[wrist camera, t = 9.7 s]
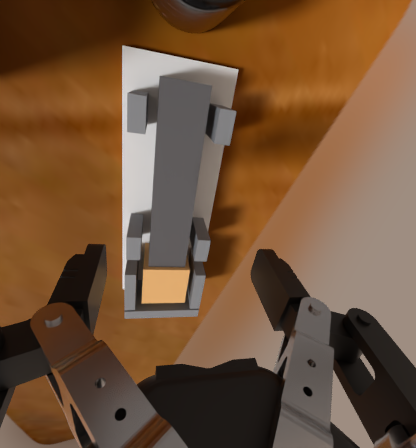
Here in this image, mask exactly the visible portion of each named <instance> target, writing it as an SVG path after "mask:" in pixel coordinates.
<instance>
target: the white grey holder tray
mask: <svg viewBox="0 0 416 448" xmlns="http://www.w3.org/2000/svg"><path fill="white" fill-rule="evenodd" d="M238 70H239V69H234V68H229V67H224V66H220V65H215V64H210V63H205V62H200V61H196V60H191V59H186V58H181V57H176V56H172V55H167V54H162V53H157V52H152V51H148V50H143V49H138V48H133V47H128V46H123V45H122V177H123V289H125V319H128V318H160V317H192V316H198V311H199V306H200V301H201V297H202V292H203V287H204V282H205V277H206V274H205V270H204V266H203V262H202V261H206V262H207V257H208V252H209V247H210V242H211V240H210V237H209V234H208V229H209V224H210V219H211V213H212V208H213V203H214V197H215V192H216V187H217V181H218V176H219V171H220V166H221V160H222V155H223V150H224V145H228V146H230V142H231V137H232V132H233V127H234V122H235V117H236V112H237V111H235V110H232V109H231V107H232V102H233V97H234V91H235V86H236V81H237V75H238ZM159 76H164V77H169V78H175V79H180V80H185V81H191V82H196V83H201V84H207V85H212V91H211V97H210V104H209V111H208V117H207V124H206V131H205V137H204V144H203V151H202V157H201V164H200V171H199V177H198V184H197V191H196V197H195V204H194V211H193V217H192V224H191V231H190V237H189V244H188V251H187V256H188V262H189V268H190V273H189V279H188V285H187V291H186V298H185V303H142V284H143V265H144V252H145V243H149V241H150V225H151V208H152V192H153V175H154V158H155V142H156V125H157V109H158V92H159Z"/></svg>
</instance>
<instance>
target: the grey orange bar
mask: <svg viewBox="0 0 416 448" xmlns="http://www.w3.org/2000/svg"><path fill="white" fill-rule="evenodd" d="M211 91H212V85H207V84H201V83H196V82H191V81H185V80H180V79H175V78H169V77H164V76H159V92H158V109H157V125H156V142H155V158H154V175H153V192H152V208H151V225H150V241H149V243H145V252H144V265H143V284H142V303H185V298H186V291H187V285H188V279H189V273H190V268H189V262H188V256H187V251H188V244H189V237H190V231H191V224H192V217H193V211H194V204H195V197H196V191H197V184H198V177H199V171H200V164H201V157H202V151H203V144H204V137H205V131H206V124H207V117H208V111H209V104H210V97H211Z"/></svg>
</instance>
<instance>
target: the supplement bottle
mask: <svg viewBox="0 0 416 448" xmlns="http://www.w3.org/2000/svg"><path fill="white" fill-rule="evenodd" d="M151 1H152V3H153V5H154V6H155V8H156V10H157V11H158V12H159V14H160V15H161V16H162V17H163V18H164V19H165V20H166V21H167V22H168V23H169V24H170V25H172V26H173V27H175V28H177V29H179V30H181V31H184V32H188V33H201V32H205V31H208V30H211V29H212V28H214V27H216V26H217V25H219V24H220V23H221V22H222V21H223V20H225V19H226V18H227V17H228V16H229V15H230V14H231V13H232V12H233V11H234V10H236V9H237V8H238V7H239V6H240V5H241V4H242V3H243V2H244V1H245V0H151Z"/></svg>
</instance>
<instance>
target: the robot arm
mask: <svg viewBox="0 0 416 448" xmlns="http://www.w3.org/2000/svg"><path fill="white" fill-rule="evenodd" d="M106 276H107V261H106V246H105V244H88V246H87V248H86V251H85V254H75V255H74V256H73V257H72V258H71V259H69V260H68V261H67V263H66V265H65V267H64V270H63V272H62V274H61V276H60V278H59V280H58V283H57V285H56V287H55V289H54V291H53V293H52V296H51V298H50V300H49V302H48V304H47V305H46V306H44V307H42V308H41V309H39V310H38V311H37V312H36V313H35V314H34V315H33V317H32V318H31V319H29V320H26V321H23V322H20V323H16V324H13V325H9V326H5V327H0V427H1V424H2V422H3V419H4V416H5V414H6V411H7V408H8V406H9V403H10V401H11V398H12V395H13V393H14V390H15V387H16V386H17V385H20V384H22V383H25V382H28V381H31V380H33V379H36V378H39V377H41V376H44V375H45V376H46V378H47V380H48V382H49V384H50V385H51V387H52V389H53V391H54V393H55V395H56V397H57V399H58V401H59V403H60V405H61V407H62V409H63V411H64V413H65V416H66V418H67V421H68V423H69V426H70V428H71V430H72V433H73V435H74V437H75V439H76V441H77V443H78V444H79V447H80V448H360V447H358V446H357V445H356V444H355V443H354V442H353V441H352V440H351V439H350V438H348V437H347V436H346V435H345V434H344V433H343V432H342V431H340V429H338V428H337V427H336V426H335V425H334V424H333V423H332V422H331V421H330V418H331V400H332V380H333V370H334V371H335V373H336V375H337V377H338V379H339V381H340V382H341V384H342V386H343V388H344V390H345V392H346V394H347V396H348V398H349V399H350V401H351V403H352V405H353V407H354V409H355V410H356V412H357V414H358V416H359V418H360V420H361V422H362V424H363V426H364V427H365V429H366V431H367V433H368V435H369V437H370V439H371V440H372V442H373V444H374V448H416V368H415V367H414V365H413V364H412V363H411V362H410V360H409V359H408V358H407V357H406V356H405V354H404V353H403V352H402V351H401V349H400V348H399V347H398V346H397V345H396V343H395V342H394V341H393V340H392V338H391V337H390V336H389V335H388V334H387V332H386V331H385V330H384V329H383V328H382V327H381V325H380V324H379V323H378V321H377V320H376V319H375V318H374V317H373V316H371V315H370V314H369V313H367V312H366V311H363V310H361V309H357V308H352V309H350V310H349V311H348V312H347V314H346V315H344V314H340V313H336V312H332V311H330V310H329V308H328V307H327V306H326V305H325V304H324V303H323V302H321V301H320V300H318V299H316V298H312V297H310V295H309V294H308V292H307V291H306V290H305V288H304V287H303V285H302V284H301V282H300V281H299V279H297V276H296V275H295V273H293V270H292V269H291V267H290V266H289V265H288V264H287V263H286V262H285V261H283V260H282V259H279V258H278V256H277V255H276V253H275V252H274V251H273V250H271V249H259V250H258V251H257V254H256V257H255V260H254V263H253V266H252V270H251V280H252V283H253V285H254V287H255V289H256V292H257V294H258V296H259V298H260V300H261V303H262V305H263V307H264V309H265V311H266V314H267V316H268V318H269V320H270V322H271V325H272V327H273V329H274V331H284V333H285V335H284V337H283V339H282V343H281V347H280V350H279V354H278V357H277V361H276V364H275V368H274V371H273V372H272V371H270V370H268V369H265V368H262V367H259V366H258V365H257V362H256V359H255V358H249V359H237V360H231V361H228V362H226V363H223V364H221V365H218V366H215V367H213V368H202V367H196V366H190V365H185V364H176V365H164V366H156V373H155V375H153V376H150V377H148V378H146V379H144V380H143V381H141V382H140V383H138V384H137V385H136V383H135V382H134V381H133V379H132V378H131V377H130V375H129V374H128V373H127V371H126V370H125V369H124V367H123V366H122V365H121V363H120V362H119V360H118V359H117V358H116V356H115V355H114V354H113V352H112V351H111V350H110V348H109V347H108V346H107V344H106V343H105V342H104V341H102V340H100V341H97V340H96V339H95V337H94V336H93V333H94V329H95V325H96V320H97V316H98V312H99V308H100V304H101V299H102V295H103V291H104V287H105V282H106ZM362 353H363V354H364V356H365V357H366V359H367V360H368V362H369V363H370V365H371V366H372V368H373V369H374V372H375V380H374V379H373V377H372V376H371V374H370V372H369V371H368V369H367V368H366V367H365V365H364V363H363V362H362V360H361V359H360V356H361V355H362Z"/></svg>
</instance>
